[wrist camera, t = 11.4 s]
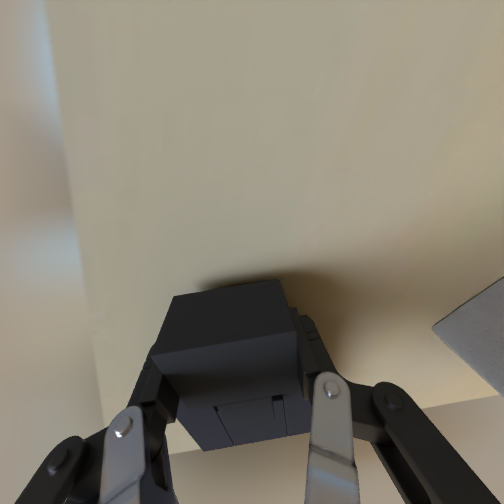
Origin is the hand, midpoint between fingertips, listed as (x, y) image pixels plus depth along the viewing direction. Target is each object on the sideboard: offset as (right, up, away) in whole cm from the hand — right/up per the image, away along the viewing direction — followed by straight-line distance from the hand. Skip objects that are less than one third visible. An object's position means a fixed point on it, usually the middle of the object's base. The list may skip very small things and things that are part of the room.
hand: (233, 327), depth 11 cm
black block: (0, -1, +2) cm, 2 cm away
